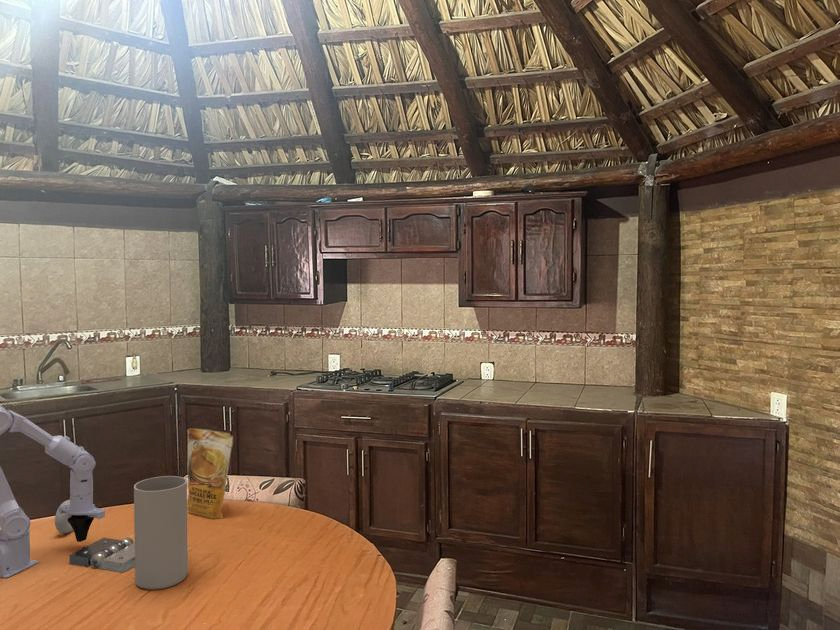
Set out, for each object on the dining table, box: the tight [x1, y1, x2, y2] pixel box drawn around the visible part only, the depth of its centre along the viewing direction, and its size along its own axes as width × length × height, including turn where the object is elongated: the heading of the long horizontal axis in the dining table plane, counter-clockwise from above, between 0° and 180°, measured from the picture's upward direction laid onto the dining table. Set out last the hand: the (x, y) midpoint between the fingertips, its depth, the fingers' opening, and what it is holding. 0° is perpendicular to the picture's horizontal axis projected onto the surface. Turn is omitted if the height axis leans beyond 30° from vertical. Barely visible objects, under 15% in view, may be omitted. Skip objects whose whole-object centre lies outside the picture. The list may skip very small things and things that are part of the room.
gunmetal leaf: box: [68, 537, 126, 568], centre depth 168 cm, size 12×10×4 cm
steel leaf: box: [90, 537, 135, 574], centre depth 166 cm, size 13×11×4 cm
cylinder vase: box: [133, 475, 189, 591], centre depth 155 cm, size 12×12×25 cm
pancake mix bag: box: [186, 427, 234, 520], centre depth 201 cm, size 7×19×28 cm, turn 62°
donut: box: [54, 499, 73, 535], centre depth 185 cm, size 10×4×10 cm, turn 179°
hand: (81, 540), depth 172 cm, fingers closed
